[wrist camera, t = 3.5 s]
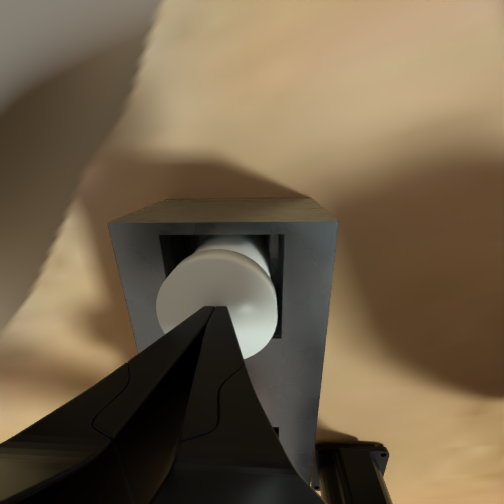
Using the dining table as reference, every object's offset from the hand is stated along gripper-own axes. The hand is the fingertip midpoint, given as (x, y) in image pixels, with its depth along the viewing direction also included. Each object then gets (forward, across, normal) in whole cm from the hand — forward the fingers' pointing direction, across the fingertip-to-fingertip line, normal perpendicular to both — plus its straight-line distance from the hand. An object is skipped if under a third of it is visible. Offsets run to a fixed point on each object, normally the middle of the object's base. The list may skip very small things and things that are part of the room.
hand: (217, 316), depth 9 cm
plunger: (+6, 0, 0) cm, 6 cm away
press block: (+8, 0, +6) cm, 10 cm away
